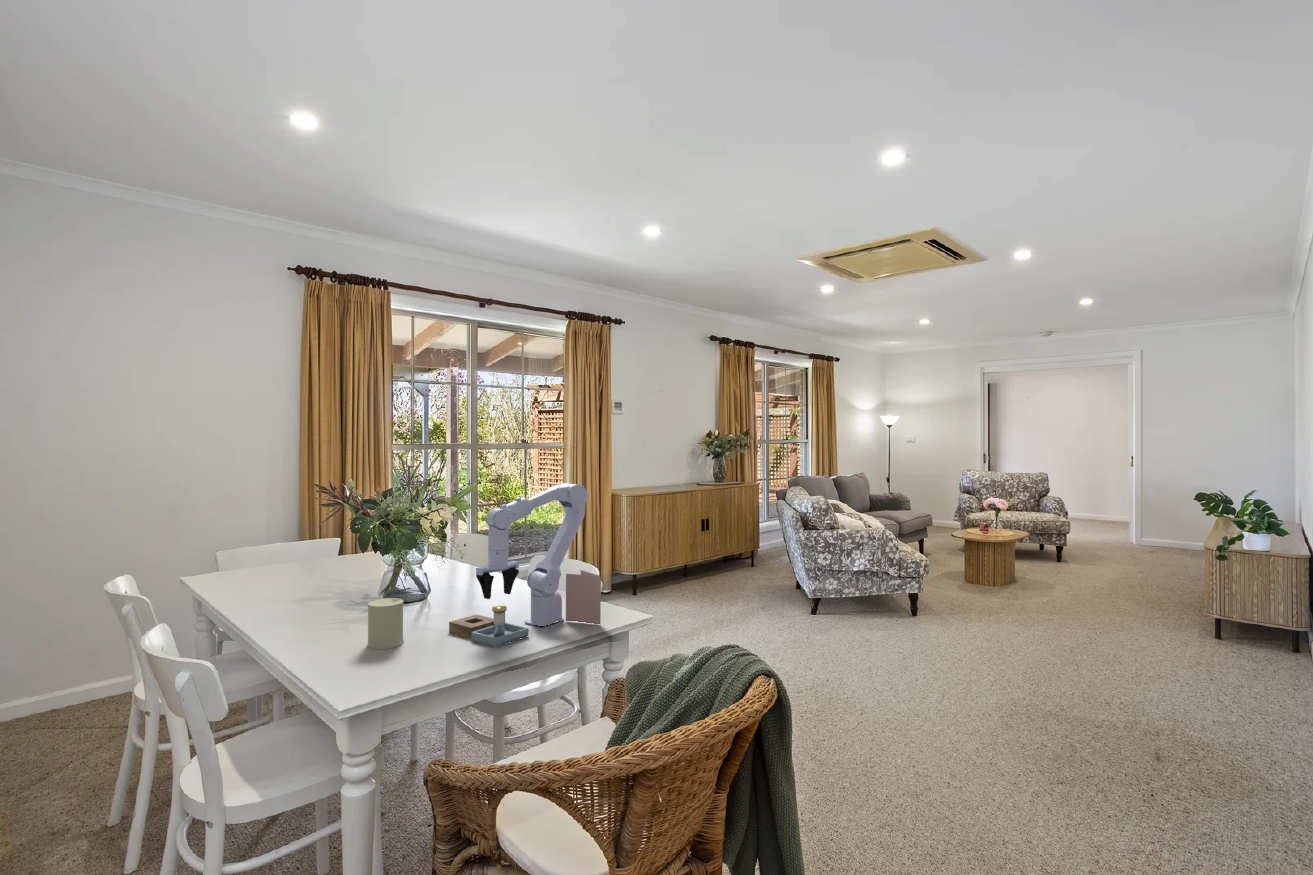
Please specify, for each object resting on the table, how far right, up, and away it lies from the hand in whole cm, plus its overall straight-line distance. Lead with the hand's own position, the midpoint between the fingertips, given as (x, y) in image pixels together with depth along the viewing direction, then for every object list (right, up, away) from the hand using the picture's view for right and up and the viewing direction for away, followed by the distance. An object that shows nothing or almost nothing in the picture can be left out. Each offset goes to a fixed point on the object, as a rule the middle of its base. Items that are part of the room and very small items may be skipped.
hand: (497, 596), depth 190 cm
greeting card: (+24, -11, +9) cm, 28 cm away
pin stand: (-7, -10, +1) cm, 13 cm away
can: (-28, -11, -12) cm, 32 cm away
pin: (+2, -10, -7) cm, 12 cm away
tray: (+3, -10, -7) cm, 13 cm away
